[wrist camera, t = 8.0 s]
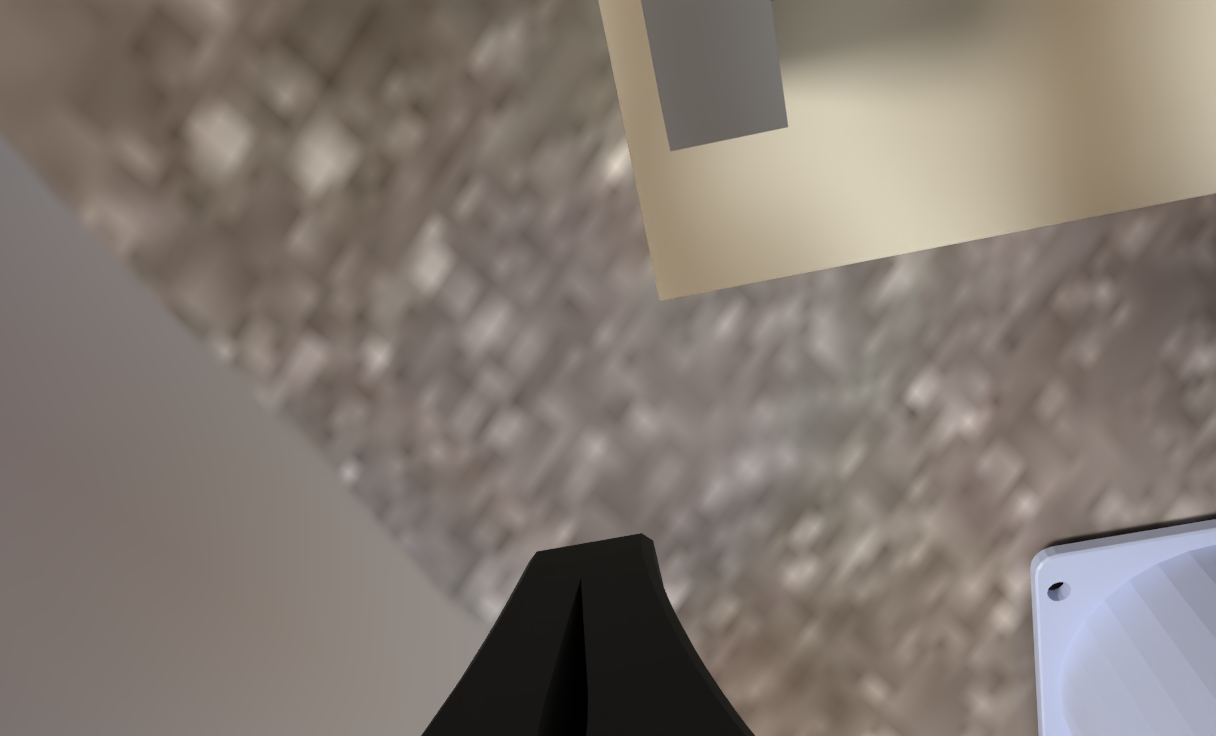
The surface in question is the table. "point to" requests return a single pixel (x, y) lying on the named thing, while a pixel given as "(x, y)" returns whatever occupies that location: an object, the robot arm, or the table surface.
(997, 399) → the table surface
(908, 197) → the rod and block board
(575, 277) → the table surface
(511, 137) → the table surface
